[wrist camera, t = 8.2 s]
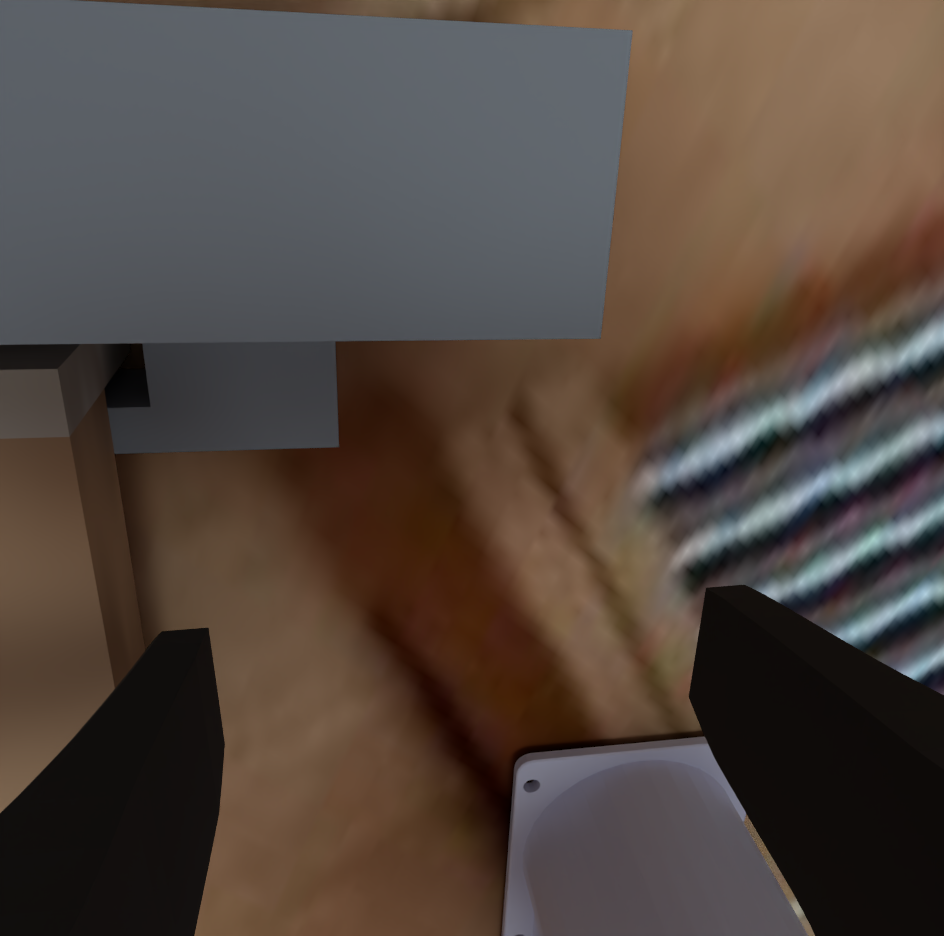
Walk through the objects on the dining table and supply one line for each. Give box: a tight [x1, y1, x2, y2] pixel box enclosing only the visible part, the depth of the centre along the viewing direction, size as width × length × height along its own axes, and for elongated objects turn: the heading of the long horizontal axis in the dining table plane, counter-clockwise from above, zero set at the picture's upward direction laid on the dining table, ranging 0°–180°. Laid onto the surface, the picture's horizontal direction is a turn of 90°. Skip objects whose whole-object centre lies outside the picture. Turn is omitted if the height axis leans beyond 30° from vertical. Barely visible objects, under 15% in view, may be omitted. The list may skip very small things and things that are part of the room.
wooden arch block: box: [0, 343, 145, 813], centre depth 18 cm, size 12×3×5 cm, turn 178°
